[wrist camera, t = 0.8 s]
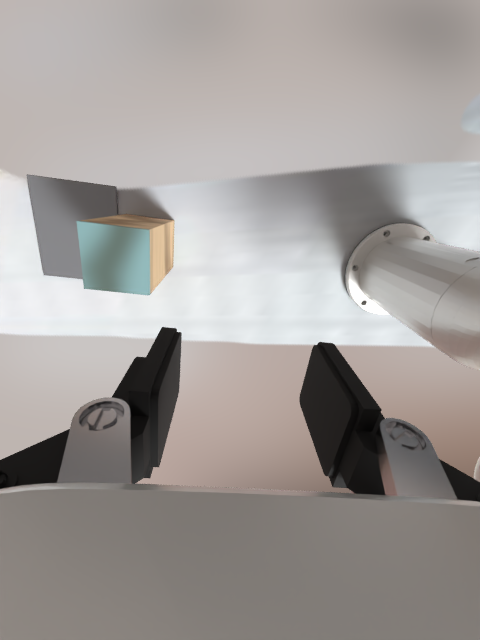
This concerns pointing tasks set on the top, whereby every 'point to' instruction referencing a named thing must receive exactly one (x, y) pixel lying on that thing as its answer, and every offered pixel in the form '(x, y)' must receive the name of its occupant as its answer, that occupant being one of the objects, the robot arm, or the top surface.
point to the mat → (66, 219)
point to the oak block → (125, 252)
